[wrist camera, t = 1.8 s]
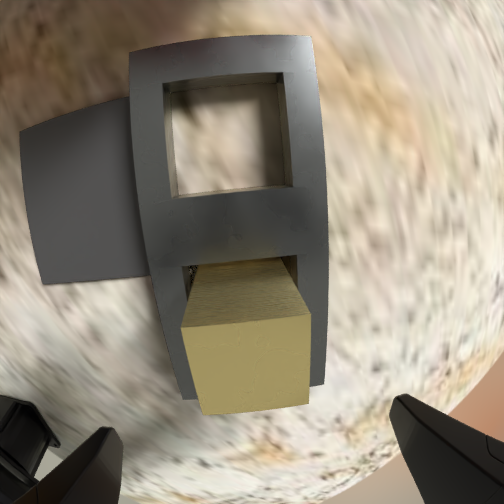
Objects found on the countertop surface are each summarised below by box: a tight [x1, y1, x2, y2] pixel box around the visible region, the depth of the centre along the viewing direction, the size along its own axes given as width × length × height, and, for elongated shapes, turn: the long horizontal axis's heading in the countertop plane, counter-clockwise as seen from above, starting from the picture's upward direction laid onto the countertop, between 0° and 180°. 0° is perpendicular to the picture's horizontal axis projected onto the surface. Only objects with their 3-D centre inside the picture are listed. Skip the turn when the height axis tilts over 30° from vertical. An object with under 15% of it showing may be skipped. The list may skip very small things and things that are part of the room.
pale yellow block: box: [181, 257, 311, 415], centre depth 14 cm, size 4×4×7 cm
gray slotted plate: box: [129, 35, 329, 400], centre depth 15 cm, size 20×9×2 cm, turn 5°
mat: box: [20, 96, 151, 284], centre depth 15 cm, size 10×10×1 cm
